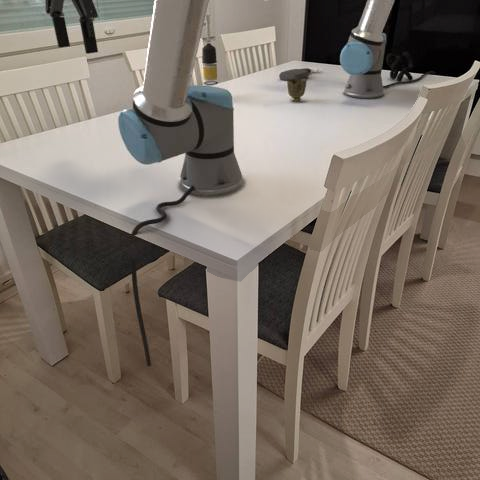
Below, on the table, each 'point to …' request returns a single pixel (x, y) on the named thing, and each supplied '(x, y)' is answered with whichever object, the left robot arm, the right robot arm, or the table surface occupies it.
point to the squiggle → (399, 66)
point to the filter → (209, 58)
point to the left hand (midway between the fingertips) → (77, 49)
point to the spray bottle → (297, 73)
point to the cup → (296, 88)
